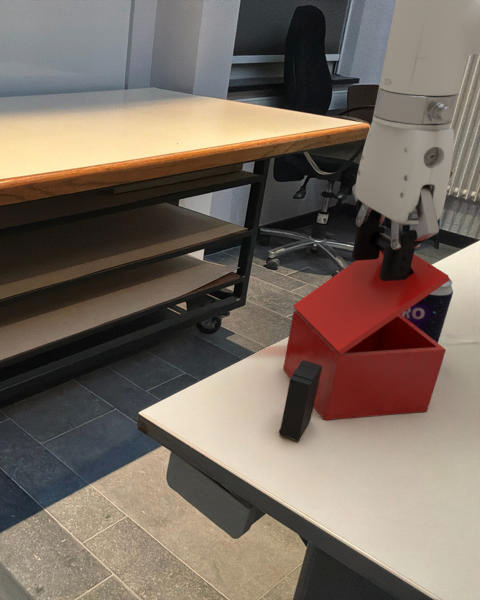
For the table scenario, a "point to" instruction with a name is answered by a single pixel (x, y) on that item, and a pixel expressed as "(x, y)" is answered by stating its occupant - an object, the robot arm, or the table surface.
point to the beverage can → (431, 311)
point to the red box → (369, 369)
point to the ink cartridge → (300, 400)
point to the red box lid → (366, 298)
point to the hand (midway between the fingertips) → (378, 267)
